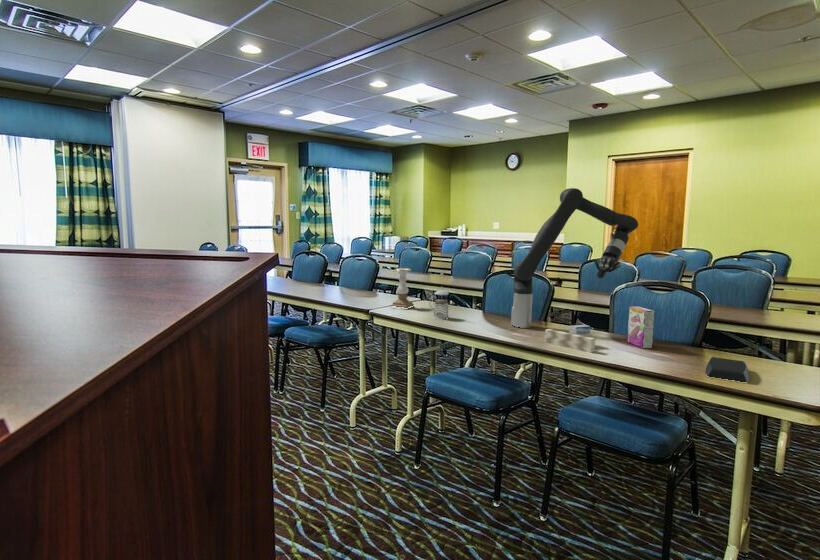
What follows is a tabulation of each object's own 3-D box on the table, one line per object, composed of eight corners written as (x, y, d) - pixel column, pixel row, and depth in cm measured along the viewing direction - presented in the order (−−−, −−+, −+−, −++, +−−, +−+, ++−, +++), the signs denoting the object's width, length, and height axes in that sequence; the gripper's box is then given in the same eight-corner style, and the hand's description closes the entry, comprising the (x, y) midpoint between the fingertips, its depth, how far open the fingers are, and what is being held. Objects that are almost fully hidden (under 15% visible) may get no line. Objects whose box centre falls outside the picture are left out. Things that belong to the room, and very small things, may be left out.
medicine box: (574, 347, 203) (575, 327, 202) (568, 344, 207) (569, 325, 206) (589, 345, 205) (591, 326, 204) (583, 343, 209) (584, 324, 208)
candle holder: (414, 306, 294) (414, 268, 291) (406, 309, 284) (407, 270, 282) (398, 305, 299) (398, 267, 296) (390, 308, 289) (390, 269, 286)
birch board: (544, 341, 211) (545, 329, 210) (548, 340, 213) (548, 328, 212) (590, 352, 194) (591, 339, 193) (594, 351, 196) (595, 338, 195)
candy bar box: (626, 342, 212) (628, 306, 210) (636, 342, 213) (638, 306, 211) (642, 348, 201) (645, 310, 199) (652, 348, 202) (655, 310, 200)
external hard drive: (748, 371, 174) (749, 360, 173) (750, 385, 158) (751, 374, 157) (706, 365, 181) (707, 354, 180) (704, 378, 165) (705, 367, 164)
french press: (450, 319, 256) (451, 274, 253) (429, 319, 256) (429, 273, 253) (449, 316, 266) (450, 272, 263) (428, 315, 266) (429, 271, 263)
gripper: (598, 244, 230) (583, 270, 224) (625, 245, 220) (611, 273, 214) (603, 254, 234) (589, 281, 228) (630, 256, 224) (615, 284, 218)
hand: (599, 277), depth 221 cm, fingers closed
